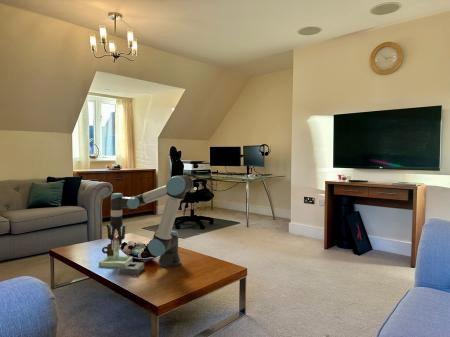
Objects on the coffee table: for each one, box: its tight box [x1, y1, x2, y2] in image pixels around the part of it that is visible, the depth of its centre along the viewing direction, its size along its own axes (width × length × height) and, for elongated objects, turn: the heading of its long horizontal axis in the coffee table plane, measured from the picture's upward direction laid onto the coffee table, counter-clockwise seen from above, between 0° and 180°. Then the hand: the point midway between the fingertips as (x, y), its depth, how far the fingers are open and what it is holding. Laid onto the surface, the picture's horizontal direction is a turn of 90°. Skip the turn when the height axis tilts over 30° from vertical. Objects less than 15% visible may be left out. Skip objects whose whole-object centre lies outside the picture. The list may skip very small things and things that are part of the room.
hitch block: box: [118, 261, 145, 276], centre depth 199 cm, size 12×12×4 cm
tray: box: [98, 255, 134, 269], centre depth 212 cm, size 18×14×3 cm
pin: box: [113, 235, 120, 259], centre depth 212 cm, size 4×4×15 cm
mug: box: [101, 243, 113, 257], centre depth 224 cm, size 12×8×9 cm, turn 140°
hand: (116, 249), depth 212 cm, fingers closed on pin, 3 cm apart
